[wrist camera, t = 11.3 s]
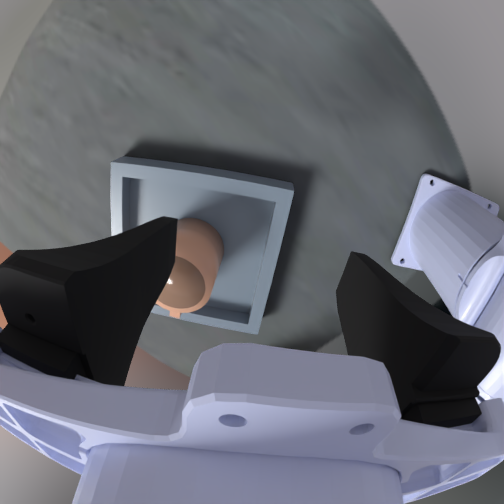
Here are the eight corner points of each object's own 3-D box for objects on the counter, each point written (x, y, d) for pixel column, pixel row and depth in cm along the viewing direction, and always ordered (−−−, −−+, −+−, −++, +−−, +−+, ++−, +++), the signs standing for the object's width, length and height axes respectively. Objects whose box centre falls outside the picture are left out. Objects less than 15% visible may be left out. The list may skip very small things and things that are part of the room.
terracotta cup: (229, 226, 22) (217, 260, 18) (216, 293, 25) (204, 334, 21) (165, 211, 22) (139, 241, 18) (160, 279, 25) (139, 316, 21)
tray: (292, 182, 21) (294, 191, 19) (258, 319, 27) (257, 334, 25) (123, 156, 21) (111, 161, 19) (126, 291, 27) (117, 303, 25)
